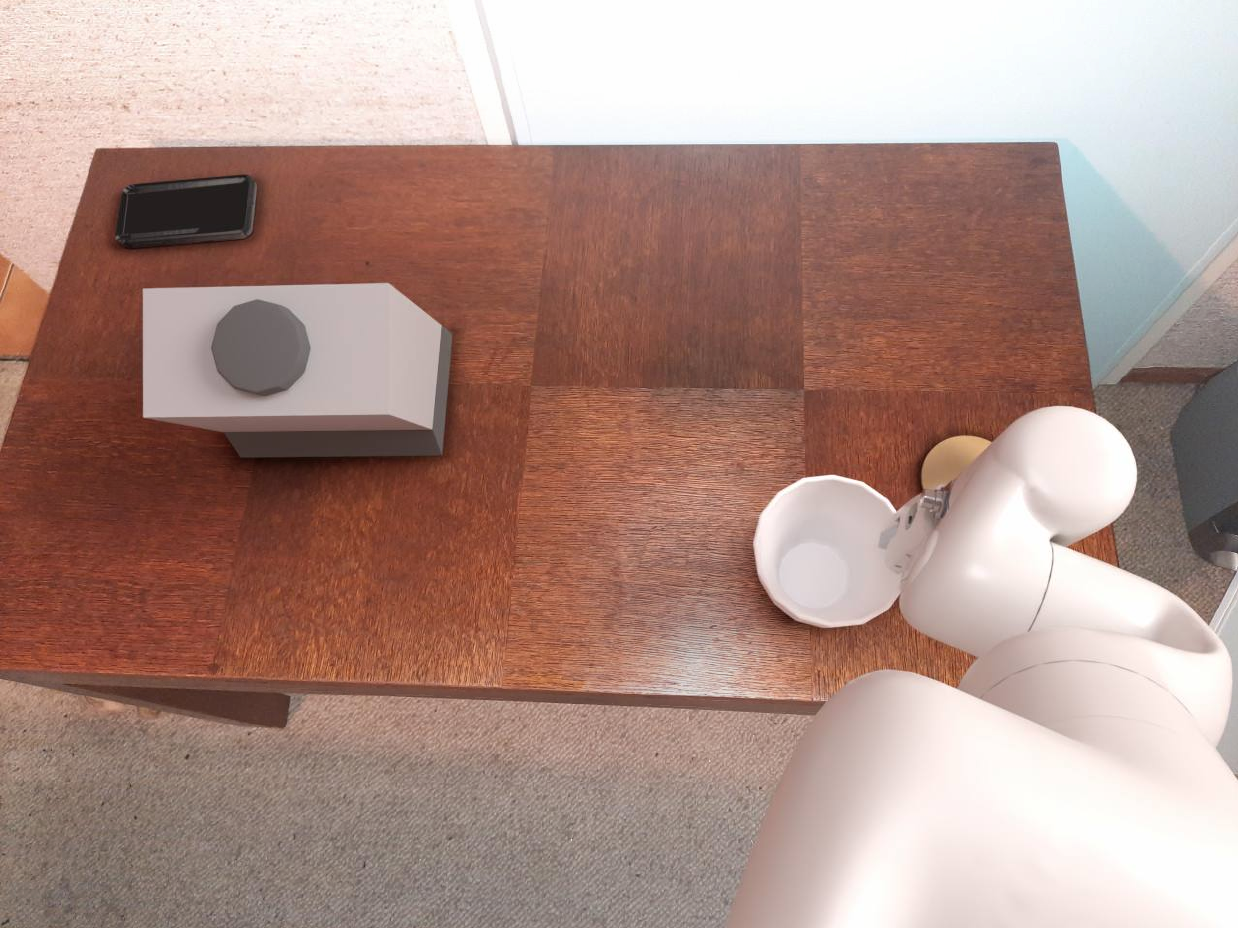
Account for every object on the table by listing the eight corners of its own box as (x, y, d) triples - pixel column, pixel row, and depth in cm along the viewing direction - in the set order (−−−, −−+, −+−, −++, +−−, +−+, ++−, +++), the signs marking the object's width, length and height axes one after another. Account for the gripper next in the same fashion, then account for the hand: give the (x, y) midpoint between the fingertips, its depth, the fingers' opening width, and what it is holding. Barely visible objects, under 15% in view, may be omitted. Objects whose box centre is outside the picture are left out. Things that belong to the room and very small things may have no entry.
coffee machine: (452, 334, 89) (392, 215, 70) (440, 478, 84) (371, 391, 64) (260, 337, 90) (150, 222, 71) (236, 479, 85) (110, 395, 66)
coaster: (1032, 517, 79) (1034, 516, 78) (937, 536, 79) (938, 534, 78) (1000, 428, 82) (1002, 427, 81) (908, 446, 82) (909, 445, 81)
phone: (123, 185, 96) (253, 173, 96) (129, 191, 97) (258, 179, 97) (113, 244, 94) (247, 233, 93) (119, 250, 95) (252, 239, 94)
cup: (881, 516, 80) (911, 479, 69) (881, 651, 76) (914, 634, 65) (746, 506, 81) (756, 468, 70) (739, 639, 77) (749, 620, 66)
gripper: (876, 543, 58) (831, 590, 75) (1107, 598, 56) (1006, 634, 73) (895, 442, 60) (847, 510, 78) (1117, 491, 58) (1017, 550, 75)
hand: (924, 570), depth 75 cm, fingers closed
